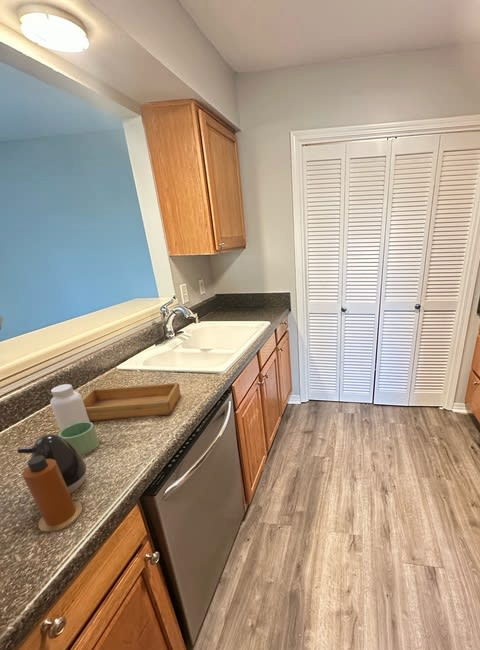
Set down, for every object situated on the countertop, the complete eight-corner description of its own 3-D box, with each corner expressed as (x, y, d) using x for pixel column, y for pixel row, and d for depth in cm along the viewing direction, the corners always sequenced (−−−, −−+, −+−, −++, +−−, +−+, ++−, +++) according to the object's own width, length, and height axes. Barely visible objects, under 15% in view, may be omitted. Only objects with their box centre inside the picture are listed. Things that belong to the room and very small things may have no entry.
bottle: (41, 529, 67) (13, 472, 61) (49, 509, 72) (24, 455, 66) (72, 520, 69) (47, 464, 63) (78, 502, 74) (56, 448, 68)
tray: (181, 395, 123) (178, 381, 120) (170, 415, 109) (167, 400, 106) (96, 402, 120) (92, 389, 118) (75, 425, 106) (69, 409, 104)
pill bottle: (77, 437, 99) (60, 394, 93) (55, 435, 100) (38, 392, 94) (97, 423, 106) (83, 382, 100) (76, 421, 108) (61, 381, 102)
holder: (62, 460, 89) (54, 441, 86) (70, 444, 96) (63, 425, 94) (96, 452, 92) (90, 433, 89) (102, 437, 99) (95, 418, 96)
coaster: (33, 537, 66) (32, 536, 66) (45, 509, 73) (45, 507, 73) (78, 524, 69) (77, 522, 68) (86, 498, 76) (85, 496, 75)
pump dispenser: (39, 488, 79) (14, 436, 73) (87, 468, 85) (68, 419, 79) (41, 512, 72) (15, 457, 66) (94, 489, 78) (74, 436, 72)
